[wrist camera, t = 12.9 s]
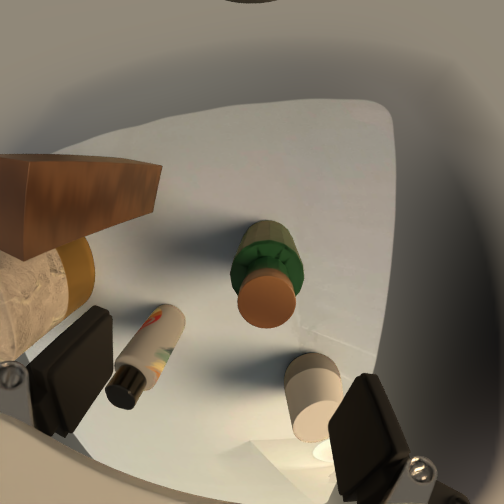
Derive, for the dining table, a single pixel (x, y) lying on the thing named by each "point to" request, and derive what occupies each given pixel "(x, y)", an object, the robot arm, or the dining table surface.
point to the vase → (41, 293)
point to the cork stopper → (266, 298)
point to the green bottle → (267, 254)
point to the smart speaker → (312, 395)
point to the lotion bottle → (145, 356)
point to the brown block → (68, 198)
